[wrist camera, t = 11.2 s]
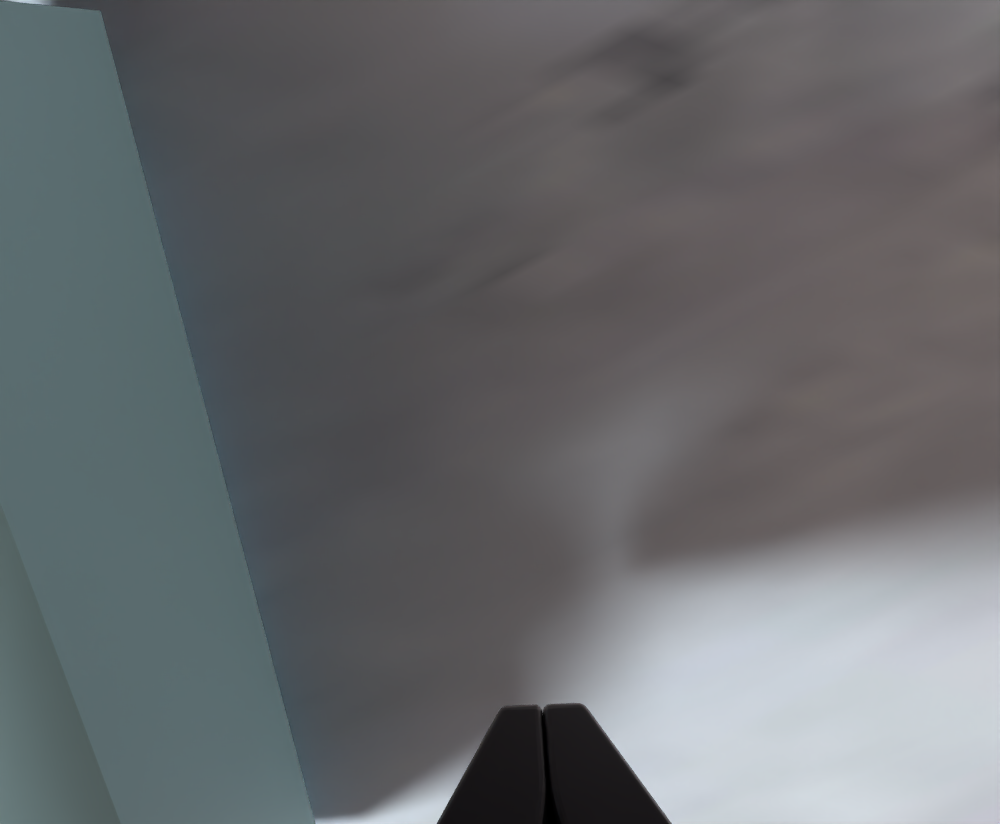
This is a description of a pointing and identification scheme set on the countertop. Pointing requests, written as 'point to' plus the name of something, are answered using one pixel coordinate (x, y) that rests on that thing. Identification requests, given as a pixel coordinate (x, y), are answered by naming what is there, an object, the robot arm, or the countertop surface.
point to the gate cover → (113, 485)
